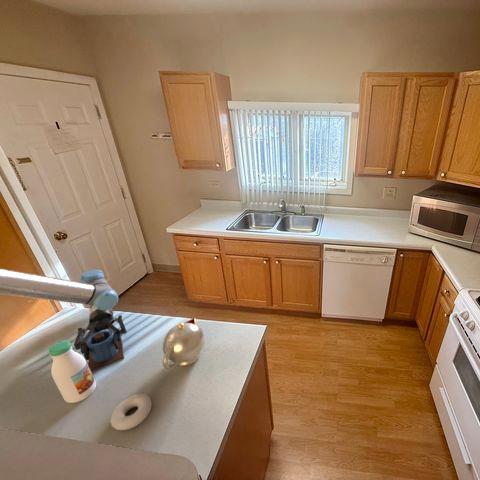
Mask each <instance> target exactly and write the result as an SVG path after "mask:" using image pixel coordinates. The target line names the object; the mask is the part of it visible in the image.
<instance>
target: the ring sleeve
mask: <svg viewBox="0 0 480 480" xmlns="http://www.w3.org/2000/svg"><path fill="white" fill-rule="evenodd" d="M99 333H103V334H104V336H105V339H106V340H105V341H103V342H100V343H96V341H95V338H94V336H95V335H97V334H99ZM86 343H87V346H88V348H89V350H90V353H91V355H92V358H93V360H94V361H95V362H103V361H107V360H109V359H110V358H112V357H113V356H115V355H116V354H117V352H118V349H117V350H116V348H115V346H114V336H113V333H112V332H111V331H109V330H108V329H106V330H102V331H100V332H98V333H95V334H94V335H92V336H91V337H89V338H88V340H87V342H86Z"/></svg>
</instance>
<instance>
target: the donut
mask: <svg viewBox="0 0 480 480" xmlns="http://www.w3.org/2000/svg"><path fill="white" fill-rule="evenodd" d="M134 408H137V410H136V411H135V412H134V413H132V414H129V415H126V414H127V413H128V412H129V411H130V410H131V409H134ZM151 409H152V400H151V398H150V396H148V395H146V394H141V393H139V394H134V395H132V396H129V397H127V398H126V399H124V400H122V401H121V402H120V403H119V404H117V406H116V407H115V408H114V410H113V411H112V414H111V415H110V425H111V427H112V428H113V429H114V430H115V431H122V432H123V431H128V430H130V429H133V428H135V427H136V426H138V425H139V424H141V423H142V422H143V421H144V420H146V418H147V416H148V415H149V414H150V411H151Z"/></svg>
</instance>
